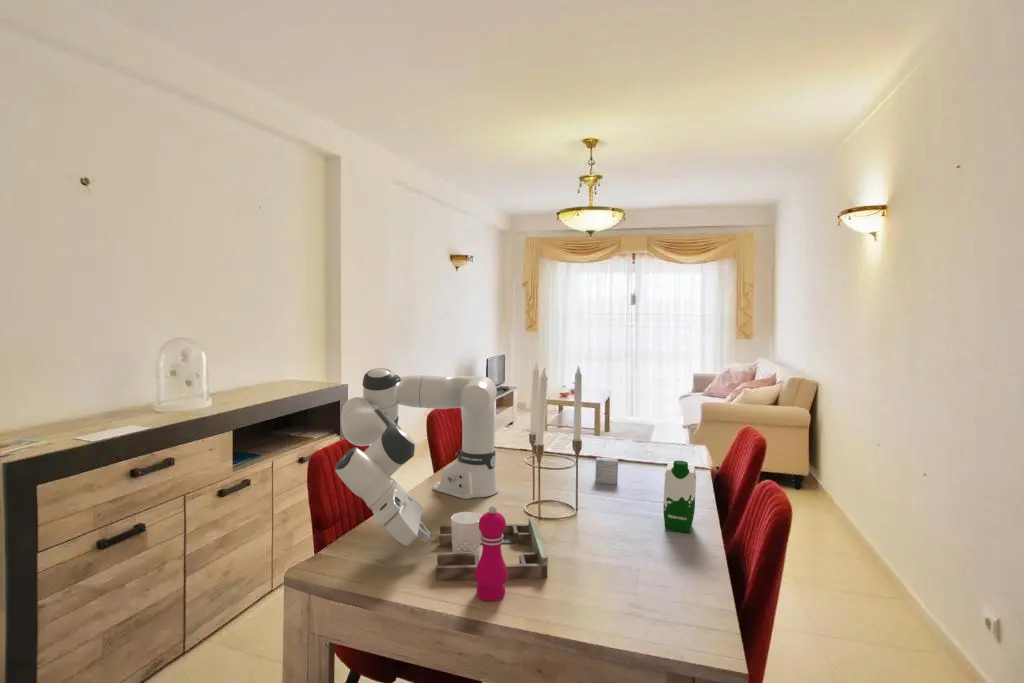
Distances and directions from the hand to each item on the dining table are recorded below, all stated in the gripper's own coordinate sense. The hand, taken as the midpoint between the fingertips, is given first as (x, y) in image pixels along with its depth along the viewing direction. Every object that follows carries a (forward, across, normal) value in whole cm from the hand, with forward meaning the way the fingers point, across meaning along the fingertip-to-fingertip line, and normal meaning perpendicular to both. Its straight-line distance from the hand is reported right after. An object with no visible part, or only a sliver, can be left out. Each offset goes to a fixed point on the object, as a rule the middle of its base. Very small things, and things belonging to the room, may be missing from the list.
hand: (428, 538), depth 140 cm
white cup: (+10, 0, +3) cm, 11 cm away
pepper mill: (+14, +19, +7) cm, 25 cm away
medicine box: (+47, -58, +40) cm, 84 cm away
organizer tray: (+14, 0, +8) cm, 16 cm away
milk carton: (+54, -16, +48) cm, 74 cm away
